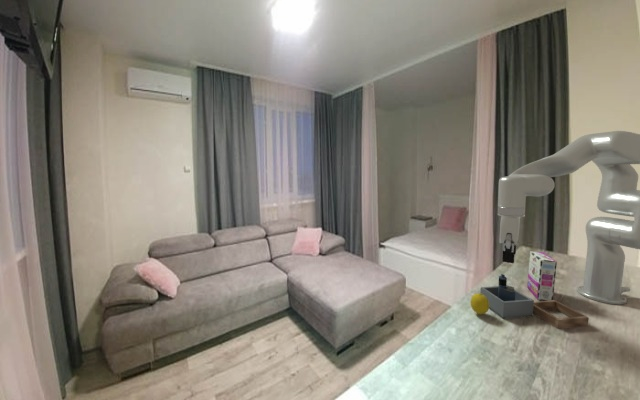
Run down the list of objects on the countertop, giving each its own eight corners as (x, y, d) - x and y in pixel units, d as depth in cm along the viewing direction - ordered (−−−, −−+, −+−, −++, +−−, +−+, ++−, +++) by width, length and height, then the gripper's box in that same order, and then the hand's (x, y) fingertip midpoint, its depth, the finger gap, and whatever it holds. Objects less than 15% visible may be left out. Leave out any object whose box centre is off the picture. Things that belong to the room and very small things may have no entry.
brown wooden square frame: (554, 307, 89) (554, 300, 89) (587, 326, 78) (588, 317, 78) (527, 309, 88) (527, 302, 88) (557, 328, 78) (558, 320, 77)
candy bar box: (554, 302, 92) (557, 261, 90) (537, 300, 94) (540, 260, 92) (541, 289, 102) (544, 251, 100) (526, 287, 104) (529, 250, 102)
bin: (506, 299, 95) (507, 285, 95) (532, 316, 84) (533, 300, 84) (479, 301, 95) (480, 287, 94) (502, 318, 84) (503, 302, 83)
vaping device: (499, 302, 92) (500, 272, 91) (515, 308, 88) (517, 277, 86) (495, 304, 91) (497, 274, 89) (512, 311, 86) (514, 279, 85)
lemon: (491, 319, 84) (492, 298, 83) (473, 318, 85) (474, 297, 84) (484, 310, 89) (485, 290, 88) (467, 309, 90) (468, 289, 89)
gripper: (500, 206, 94) (498, 249, 96) (495, 215, 81) (493, 263, 83) (525, 208, 89) (523, 252, 91) (524, 217, 76) (521, 268, 78)
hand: (509, 257), depth 87 cm, fingers open, 9 cm apart
